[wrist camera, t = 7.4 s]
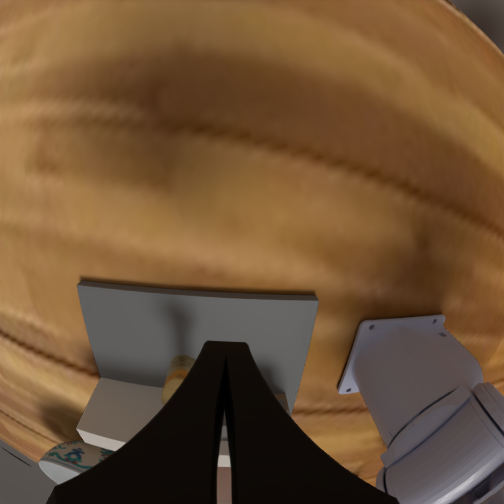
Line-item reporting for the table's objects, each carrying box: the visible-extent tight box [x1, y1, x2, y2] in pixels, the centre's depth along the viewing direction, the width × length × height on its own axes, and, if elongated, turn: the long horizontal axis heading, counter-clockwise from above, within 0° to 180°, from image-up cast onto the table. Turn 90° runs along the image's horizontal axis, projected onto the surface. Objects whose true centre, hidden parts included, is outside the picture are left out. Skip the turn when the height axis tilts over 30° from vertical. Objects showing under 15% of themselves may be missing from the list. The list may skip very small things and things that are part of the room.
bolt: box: [161, 355, 290, 416], centre depth 15 cm, size 8×6×3 cm
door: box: [76, 281, 319, 467], centre depth 17 cm, size 17×13×7 cm
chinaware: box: [39, 440, 115, 484], centre depth 21 cm, size 15×15×8 cm
